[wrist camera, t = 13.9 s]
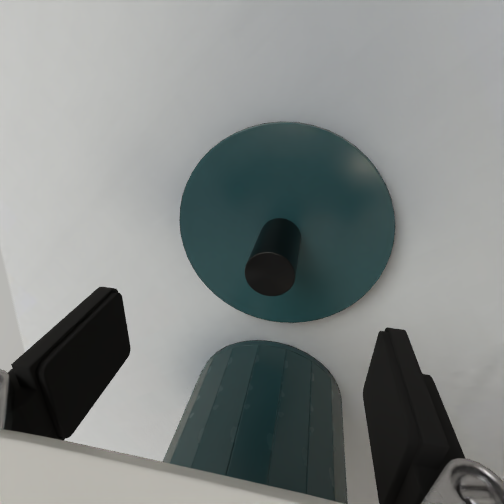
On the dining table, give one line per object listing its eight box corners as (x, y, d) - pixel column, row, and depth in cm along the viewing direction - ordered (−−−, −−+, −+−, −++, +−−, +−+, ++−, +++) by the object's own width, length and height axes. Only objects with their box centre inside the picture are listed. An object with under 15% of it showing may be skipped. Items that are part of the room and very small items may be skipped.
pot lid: (155, 157, 20) (98, 179, 15) (372, 86, 16) (395, 84, 11) (223, 322, 24) (198, 382, 19) (403, 298, 20) (429, 364, 16)
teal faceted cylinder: (180, 348, 26) (47, 588, 14) (324, 331, 23) (327, 635, 10) (226, 441, 31) (158, 690, 18) (354, 440, 27) (381, 748, 14)
